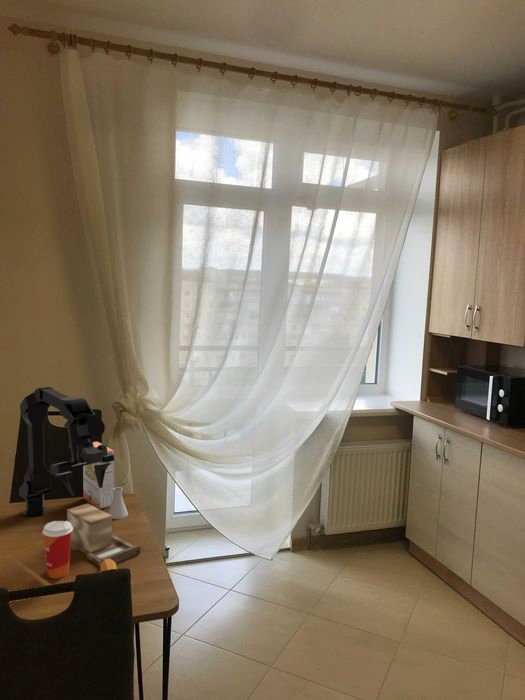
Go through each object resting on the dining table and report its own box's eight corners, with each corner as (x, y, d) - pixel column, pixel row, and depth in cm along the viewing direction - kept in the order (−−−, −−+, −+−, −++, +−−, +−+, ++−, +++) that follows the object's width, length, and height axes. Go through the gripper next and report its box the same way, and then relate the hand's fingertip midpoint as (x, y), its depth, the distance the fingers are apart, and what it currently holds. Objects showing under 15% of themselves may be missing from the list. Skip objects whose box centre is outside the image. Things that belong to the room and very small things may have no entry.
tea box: (66, 538, 170) (66, 509, 169) (87, 531, 176) (87, 503, 175) (90, 552, 162) (90, 522, 161) (111, 544, 167) (112, 515, 166)
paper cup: (47, 568, 153) (47, 519, 152) (76, 568, 154) (76, 519, 153) (38, 583, 146) (38, 531, 144) (68, 583, 146) (68, 531, 145)
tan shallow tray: (38, 545, 166) (38, 536, 166) (103, 523, 183) (103, 515, 183) (86, 577, 150) (86, 566, 149) (153, 550, 166) (153, 540, 166)
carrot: (101, 574, 153) (95, 561, 152) (117, 565, 155) (111, 553, 153) (116, 620, 136) (109, 606, 134) (133, 610, 137) (127, 596, 136)
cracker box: (82, 499, 204) (82, 443, 202) (97, 495, 208) (98, 440, 206) (98, 511, 193) (98, 452, 191) (114, 507, 197) (115, 449, 195)
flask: (122, 522, 185) (122, 493, 184) (102, 520, 186) (102, 491, 185) (132, 514, 192) (132, 486, 191) (112, 512, 193) (112, 484, 192)
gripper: (64, 443, 157) (72, 499, 156) (120, 432, 171) (128, 483, 170) (45, 446, 164) (53, 499, 163) (100, 435, 178) (108, 484, 177)
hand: (87, 491), depth 168 cm, fingers open, 9 cm apart
